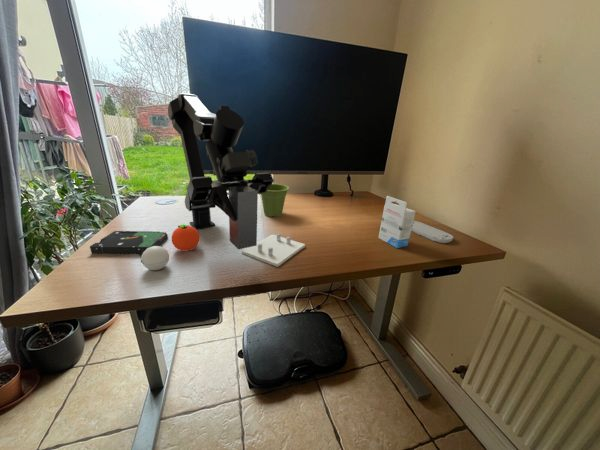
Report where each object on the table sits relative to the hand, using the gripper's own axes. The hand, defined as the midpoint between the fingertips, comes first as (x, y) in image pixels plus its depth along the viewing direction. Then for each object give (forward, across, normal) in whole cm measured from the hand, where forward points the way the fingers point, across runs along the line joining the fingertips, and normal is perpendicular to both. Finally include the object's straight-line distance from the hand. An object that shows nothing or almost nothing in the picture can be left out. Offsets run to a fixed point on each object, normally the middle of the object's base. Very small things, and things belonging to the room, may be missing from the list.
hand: (245, 218), depth 53 cm
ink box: (+17, +47, +3) cm, 50 cm away
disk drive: (-10, -21, +30) cm, 38 cm away
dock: (+6, +11, +13) cm, 18 cm away
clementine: (-4, -9, +23) cm, 25 cm away
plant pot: (-13, +27, +32) cm, 44 cm away
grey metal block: (+4, 0, +6) cm, 7 cm away
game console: (+18, +64, +2) cm, 67 cm away
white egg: (+2, -18, +18) cm, 25 cm away
